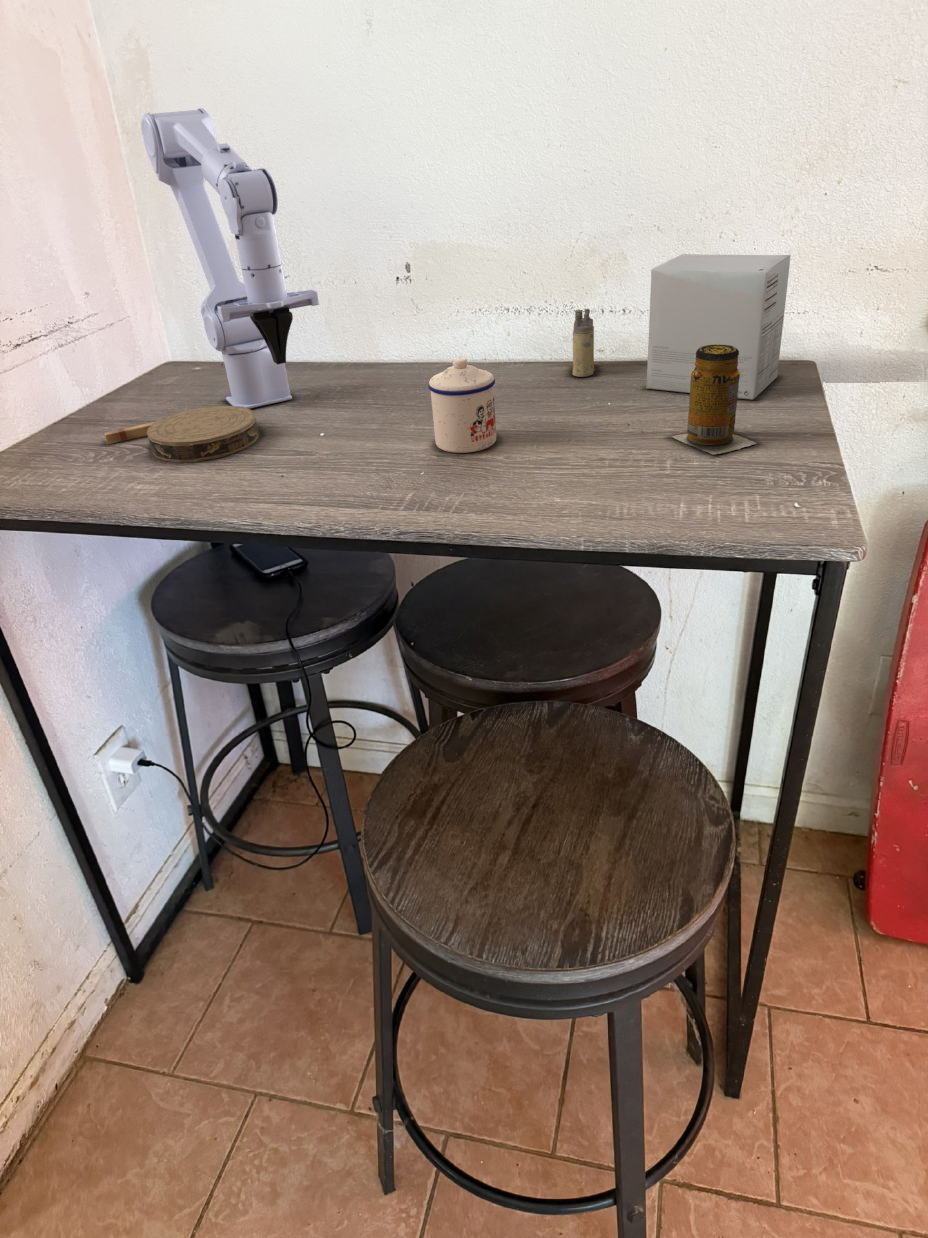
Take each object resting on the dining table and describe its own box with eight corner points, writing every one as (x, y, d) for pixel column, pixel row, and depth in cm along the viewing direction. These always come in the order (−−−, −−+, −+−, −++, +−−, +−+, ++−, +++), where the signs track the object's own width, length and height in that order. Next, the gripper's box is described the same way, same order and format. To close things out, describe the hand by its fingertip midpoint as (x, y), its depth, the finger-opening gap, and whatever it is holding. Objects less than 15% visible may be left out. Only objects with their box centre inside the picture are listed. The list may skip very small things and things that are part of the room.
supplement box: (779, 376, 133) (794, 253, 124) (754, 401, 124) (769, 271, 115) (674, 366, 142) (681, 251, 132) (643, 389, 133) (648, 267, 123)
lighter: (574, 365, 147) (573, 305, 141) (596, 364, 146) (596, 304, 141) (572, 377, 141) (571, 316, 136) (595, 377, 140) (595, 315, 135)
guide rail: (220, 416, 137) (218, 407, 137) (222, 418, 136) (220, 409, 136) (106, 442, 131) (103, 432, 130) (108, 444, 130) (105, 435, 129)
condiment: (713, 426, 117) (721, 338, 110) (756, 444, 110) (767, 351, 104) (671, 438, 114) (676, 348, 108) (712, 457, 108) (720, 362, 101)
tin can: (180, 470, 118) (174, 450, 116) (135, 445, 128) (129, 426, 127) (278, 438, 126) (274, 419, 125) (228, 417, 137) (224, 398, 135)
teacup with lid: (482, 457, 114) (476, 370, 107) (422, 451, 117) (414, 367, 111) (515, 427, 123) (512, 346, 116) (459, 422, 126) (453, 343, 120)
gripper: (218, 277, 114) (240, 377, 121) (319, 261, 120) (334, 358, 127) (206, 271, 120) (227, 367, 127) (302, 256, 125) (318, 349, 132)
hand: (279, 362), depth 127 cm, fingers closed
